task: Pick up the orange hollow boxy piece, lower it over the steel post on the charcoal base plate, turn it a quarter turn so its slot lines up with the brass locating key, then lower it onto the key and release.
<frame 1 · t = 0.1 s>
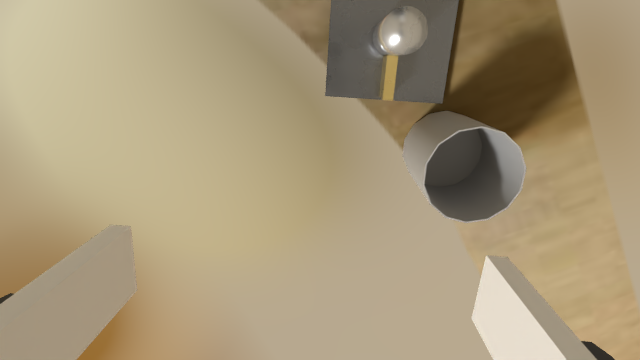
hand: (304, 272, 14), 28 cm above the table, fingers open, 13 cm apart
cup: (441, 149, 41), on the table
post base: (389, 37, 37), on the table
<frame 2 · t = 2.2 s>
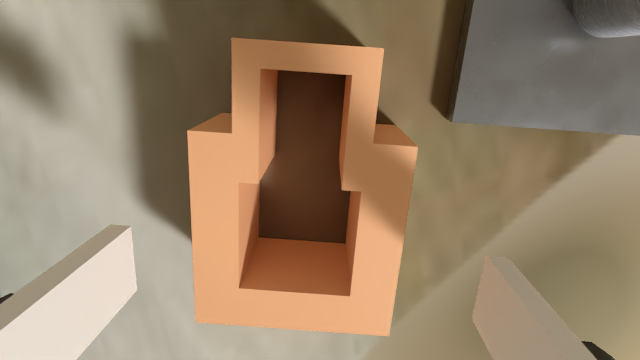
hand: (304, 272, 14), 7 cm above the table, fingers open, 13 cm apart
orange hollow boxy piece: (304, 199, 21), on the table
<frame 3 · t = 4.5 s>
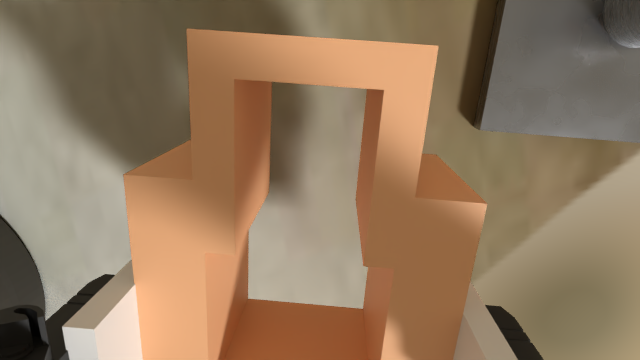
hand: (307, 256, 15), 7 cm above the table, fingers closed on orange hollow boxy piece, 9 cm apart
orange hollow boxy piece: (308, 252, 15), point 6 cm above the table, touching gripper
post base: (629, 9, 17), on the table
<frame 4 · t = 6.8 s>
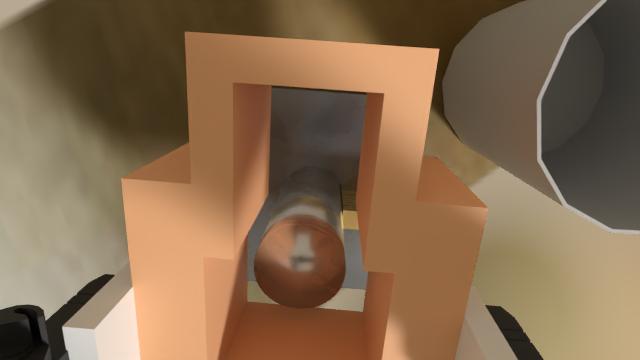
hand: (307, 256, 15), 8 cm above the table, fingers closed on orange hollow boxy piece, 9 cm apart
orange hollow boxy piece: (308, 255, 15), point 8 cm above the table, touching gripper
cup: (517, 85, 21), on the table
post base: (312, 190, 23), on the table
when the fingers open (1 cm above the table, at t = 9.2 s): orange hollow boxy piece stays where it is, resting on post base.
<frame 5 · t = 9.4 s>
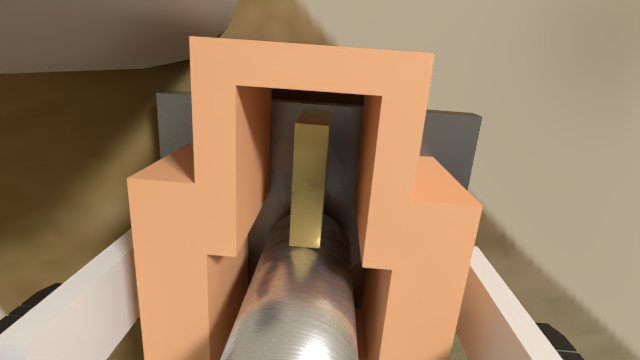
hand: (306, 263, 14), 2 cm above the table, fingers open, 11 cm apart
orange hollow boxy piece: (307, 253, 15), point 1 cm above the table, touching post base
post base: (309, 239, 16), on the table
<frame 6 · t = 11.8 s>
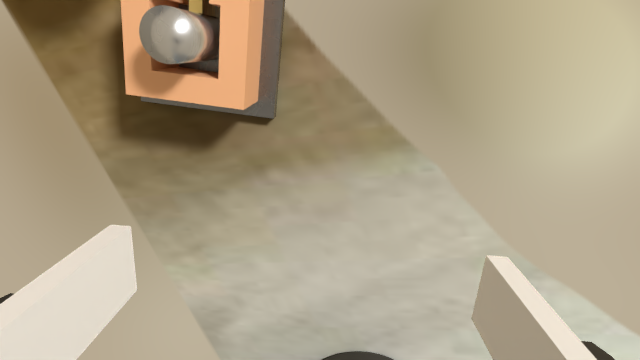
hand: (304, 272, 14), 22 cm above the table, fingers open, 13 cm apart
orange hollow boxy piece: (208, 40, 31), point 1 cm above the table, touching post base
post base: (212, 38, 32), on the table
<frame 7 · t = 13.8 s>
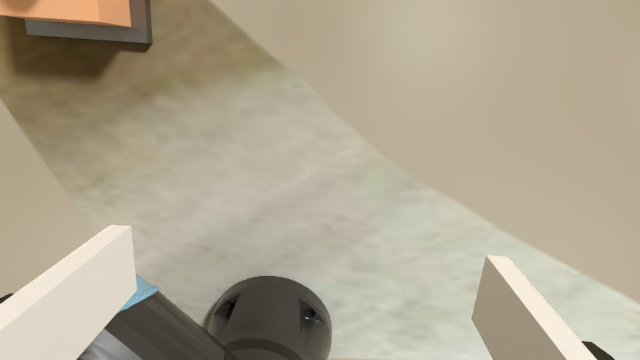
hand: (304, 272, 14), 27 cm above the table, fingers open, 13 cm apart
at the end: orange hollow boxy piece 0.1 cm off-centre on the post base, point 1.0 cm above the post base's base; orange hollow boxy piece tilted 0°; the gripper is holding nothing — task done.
